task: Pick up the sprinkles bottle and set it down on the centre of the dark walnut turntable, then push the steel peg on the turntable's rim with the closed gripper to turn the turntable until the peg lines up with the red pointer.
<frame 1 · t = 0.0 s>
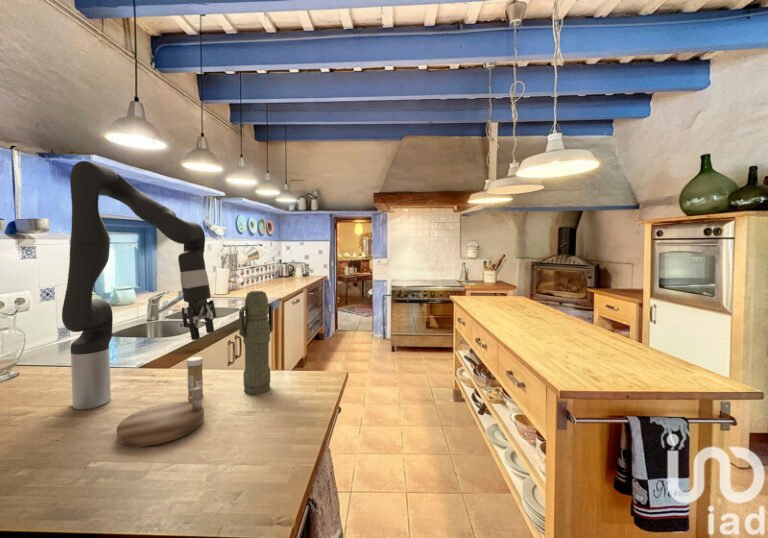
hand: (203, 336, 106), 22 cm above the countertop, tool pointing down, fingers open, 8 cm apart
sprinkles bottle: (195, 398, 113), on the countertop
pointer: (194, 408, 105), on the countertop
turntable: (162, 411, 93), point 5 cm above the countertop, hinge at -20.0°
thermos: (257, 390, 120), on the countertop
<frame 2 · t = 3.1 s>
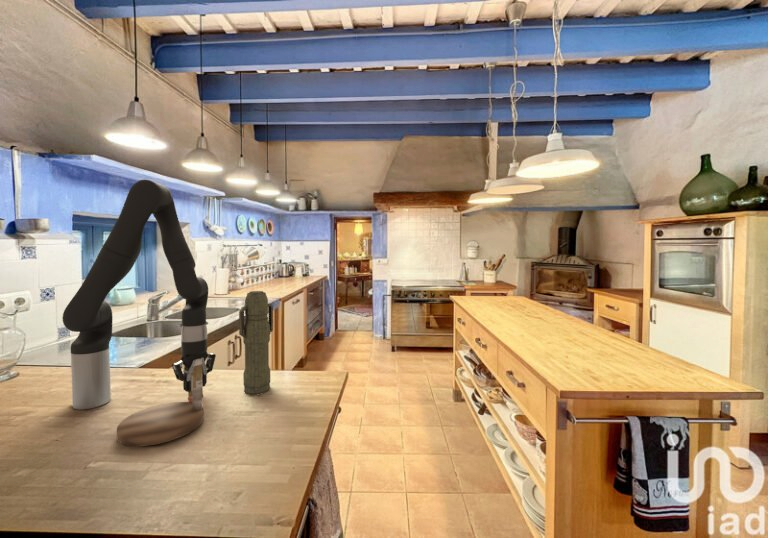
hand: (195, 388, 113), 3 cm above the countertop, tool pointing down, fingers closed on sprinkles bottle, 4 cm apart
sprinkles bottle: (195, 398, 113), on the countertop, touching gripper
everything else where it was.
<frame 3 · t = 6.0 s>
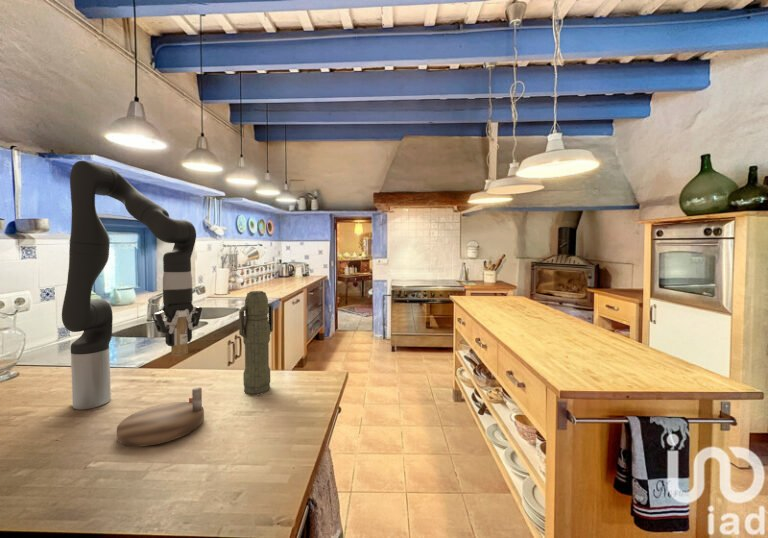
hand: (179, 343, 101), 21 cm above the countertop, tool pointing down, fingers closed on sprinkles bottle, 4 cm apart
sprinkles bottle: (179, 354, 102), point 18 cm above the countertop, touching gripper
everything else where it was.
when the fingers open (7 cm above the countertop, at t = 8.9 s): sprinkles bottle stays where it is, resting on turntable.
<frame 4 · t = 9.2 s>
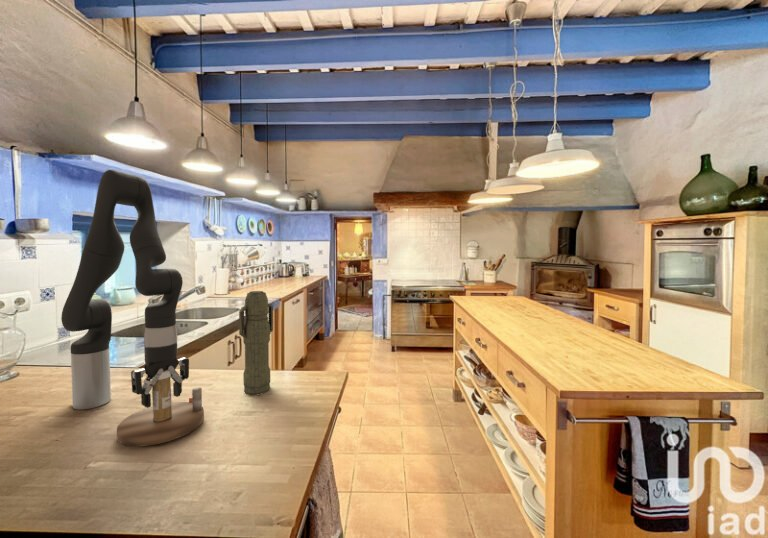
hand: (162, 401, 93), 8 cm above the countertop, tool pointing down, fingers open, 7 cm apart
sprinkles bottle: (162, 418, 93), point 3 cm above the countertop, touching turntable
turntable: (162, 411, 93), point 5 cm above the countertop, hinge at -20.0°, touching sprinkles bottle
everything else where it was.
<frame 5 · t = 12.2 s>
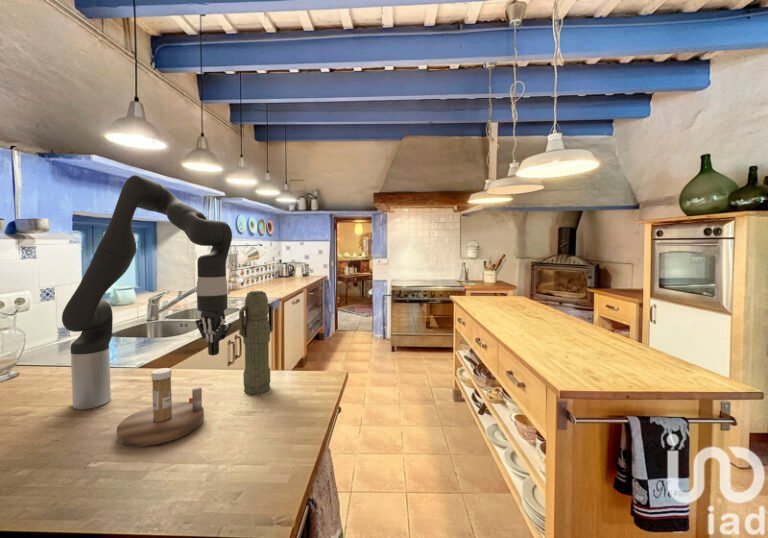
hand: (213, 354, 94), 20 cm above the countertop, tool pointing down, fingers closed
nothing on the countertop moved.
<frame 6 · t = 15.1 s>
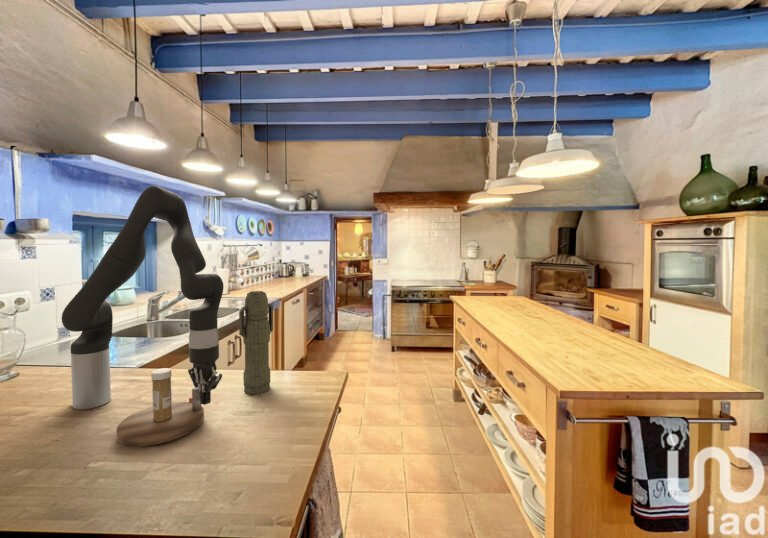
hand: (205, 403, 97), 5 cm above the countertop, tool pointing down, fingers closed
turntable: (162, 411, 93), point 5 cm above the countertop, hinge at -17.6°, touching gripper, sprinkles bottle
everything else where it was.
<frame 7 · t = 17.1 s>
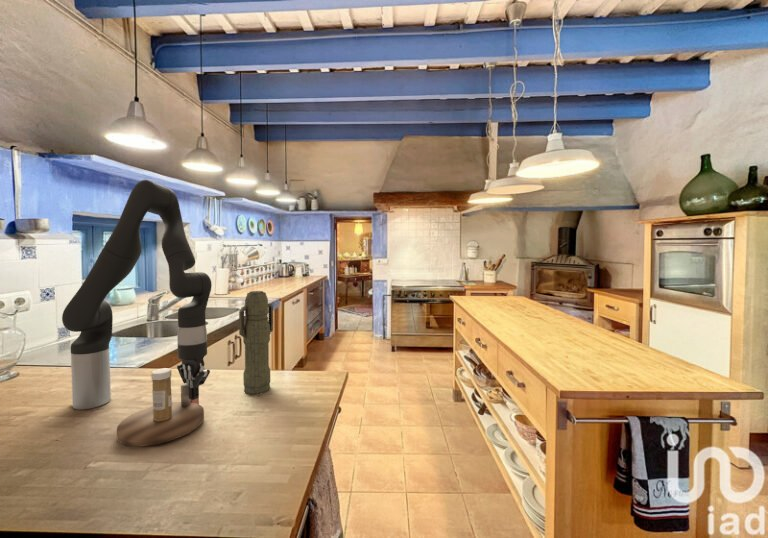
hand: (193, 398, 100), 6 cm above the countertop, tool pointing down, fingers closed
turntable: (162, 411, 93), point 5 cm above the countertop, hinge at 19.5°, touching gripper, sprinkles bottle
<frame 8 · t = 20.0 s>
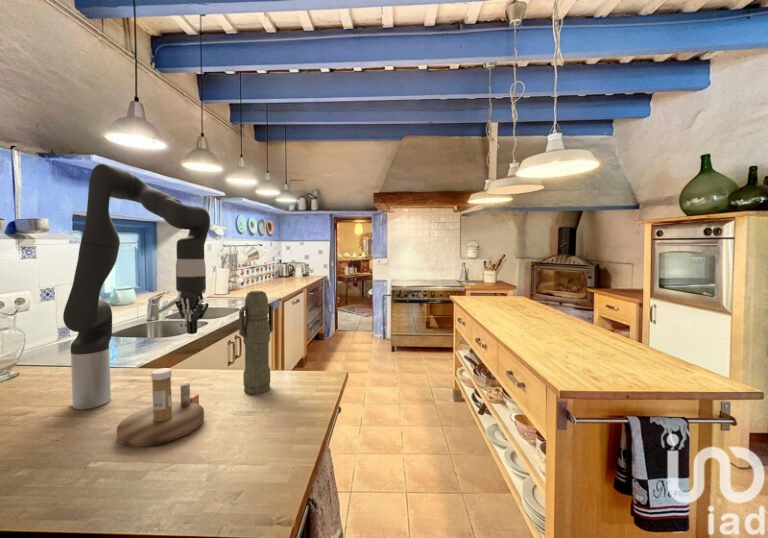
hand: (192, 333, 99), 25 cm above the countertop, tool pointing down, fingers closed
turntable: (162, 411, 93), point 5 cm above the countertop, hinge at 20.2°, touching sprinkles bottle
at the end: sprinkles bottle 0.1 cm from the turntable (horizontally); sprinkles bottle tilted 0°; turntable at +20° (first picture: -20°) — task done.
